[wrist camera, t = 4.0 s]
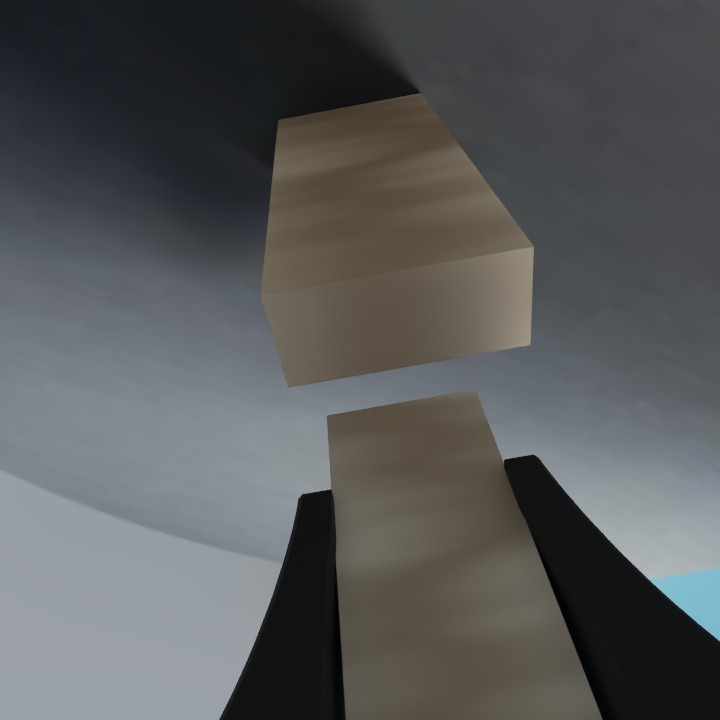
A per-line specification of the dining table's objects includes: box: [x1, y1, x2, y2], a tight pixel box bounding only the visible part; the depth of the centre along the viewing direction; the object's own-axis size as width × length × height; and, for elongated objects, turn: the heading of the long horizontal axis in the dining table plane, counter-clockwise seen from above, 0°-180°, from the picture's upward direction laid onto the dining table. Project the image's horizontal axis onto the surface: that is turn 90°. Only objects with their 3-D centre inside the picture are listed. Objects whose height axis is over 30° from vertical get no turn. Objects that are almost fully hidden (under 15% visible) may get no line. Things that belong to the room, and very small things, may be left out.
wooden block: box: [327, 390, 603, 720], centre depth 11 cm, size 4×2×8 cm, turn 99°
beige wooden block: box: [261, 93, 534, 387], centre depth 11 cm, size 4×2×8 cm, turn 99°
